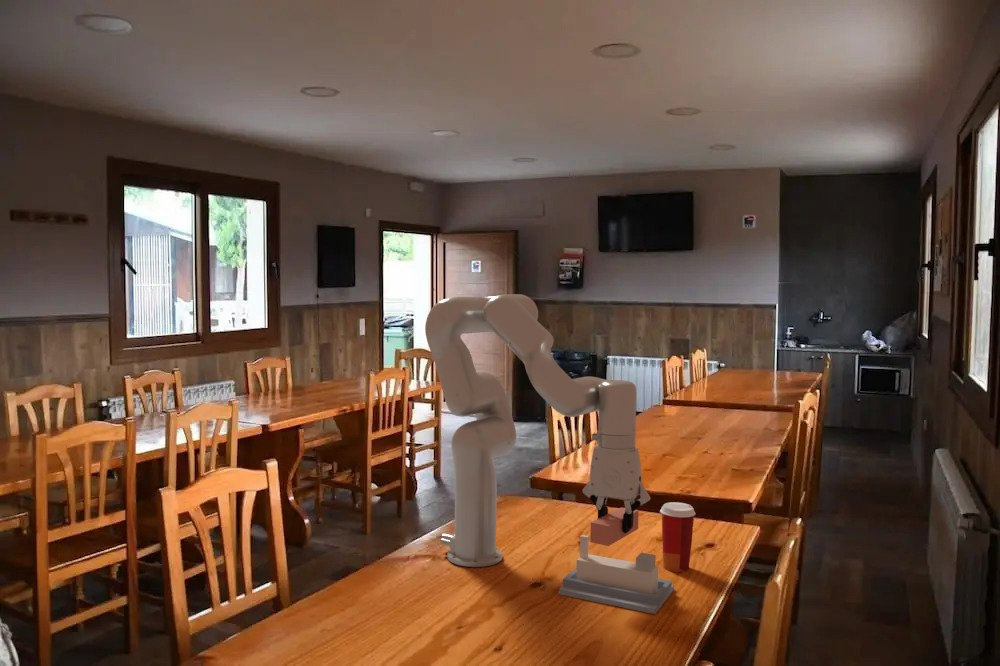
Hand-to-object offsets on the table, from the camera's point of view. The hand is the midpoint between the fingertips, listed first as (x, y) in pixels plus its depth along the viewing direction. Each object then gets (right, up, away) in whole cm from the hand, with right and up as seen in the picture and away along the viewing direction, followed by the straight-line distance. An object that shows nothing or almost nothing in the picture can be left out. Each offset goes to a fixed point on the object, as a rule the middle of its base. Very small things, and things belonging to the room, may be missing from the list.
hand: (615, 528), depth 164 cm
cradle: (0, -13, +1) cm, 13 cm away
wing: (0, -1, 0) cm, 1 cm away
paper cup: (+16, -13, +15) cm, 25 cm away
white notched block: (0, -12, +1) cm, 12 cm away
